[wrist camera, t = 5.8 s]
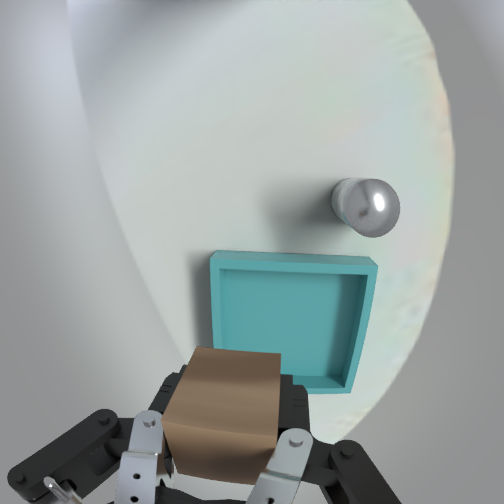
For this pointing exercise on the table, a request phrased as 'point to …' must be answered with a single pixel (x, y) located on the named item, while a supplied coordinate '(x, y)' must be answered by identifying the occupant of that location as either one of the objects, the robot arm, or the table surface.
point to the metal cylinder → (366, 205)
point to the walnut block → (225, 415)
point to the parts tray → (295, 312)
